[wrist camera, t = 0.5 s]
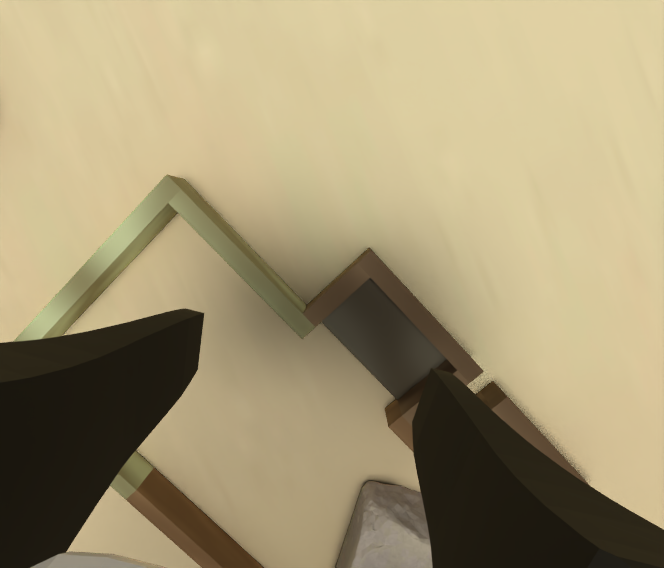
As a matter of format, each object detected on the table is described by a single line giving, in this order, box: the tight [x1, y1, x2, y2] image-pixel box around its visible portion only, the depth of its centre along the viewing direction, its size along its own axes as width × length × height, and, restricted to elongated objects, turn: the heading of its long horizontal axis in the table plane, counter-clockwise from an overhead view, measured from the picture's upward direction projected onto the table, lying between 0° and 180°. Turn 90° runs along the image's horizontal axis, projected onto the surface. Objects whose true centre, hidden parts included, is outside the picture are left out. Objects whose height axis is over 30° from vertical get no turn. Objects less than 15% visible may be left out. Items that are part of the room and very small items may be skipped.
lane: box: [13, 175, 590, 568], centre depth 22 cm, size 21×37×2 cm, turn 43°
